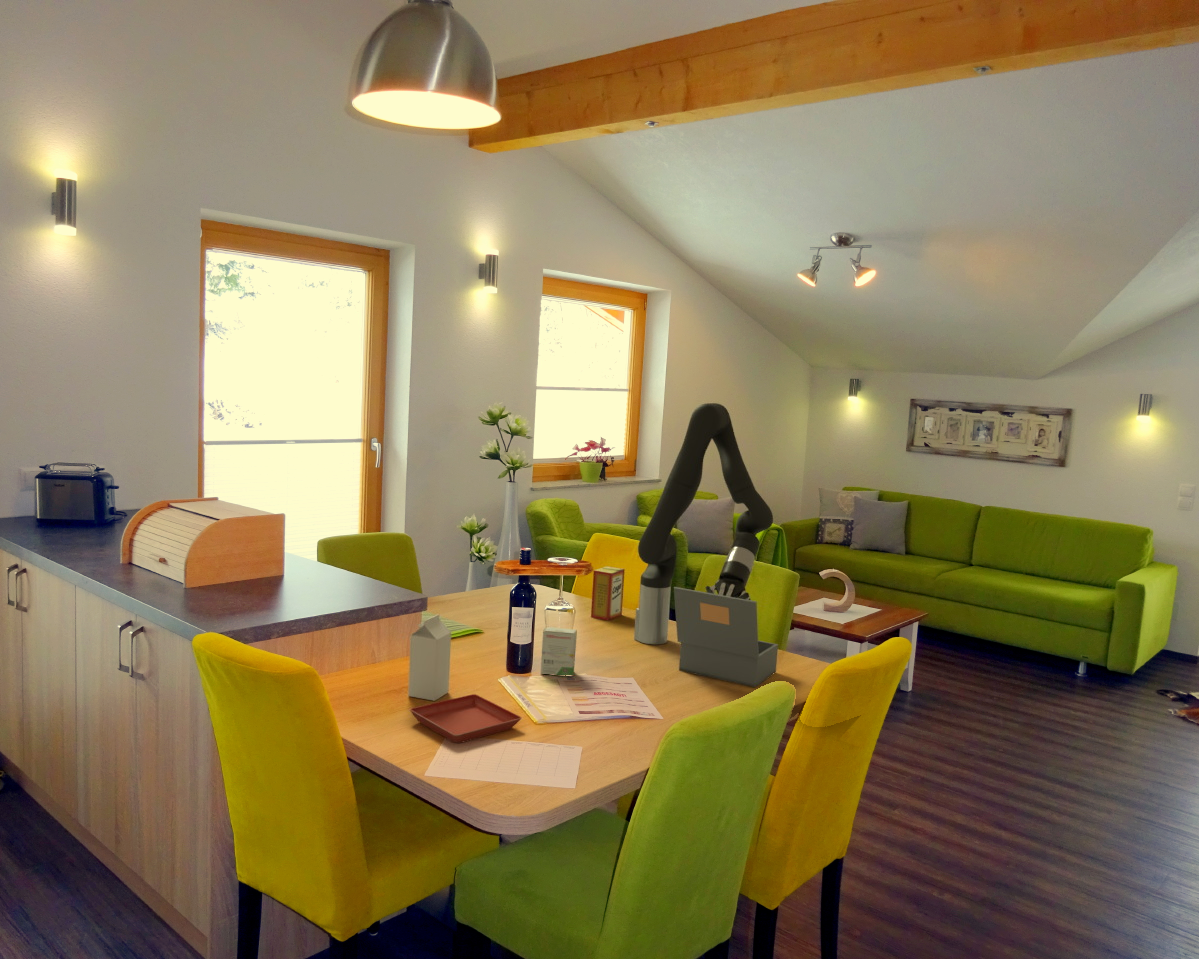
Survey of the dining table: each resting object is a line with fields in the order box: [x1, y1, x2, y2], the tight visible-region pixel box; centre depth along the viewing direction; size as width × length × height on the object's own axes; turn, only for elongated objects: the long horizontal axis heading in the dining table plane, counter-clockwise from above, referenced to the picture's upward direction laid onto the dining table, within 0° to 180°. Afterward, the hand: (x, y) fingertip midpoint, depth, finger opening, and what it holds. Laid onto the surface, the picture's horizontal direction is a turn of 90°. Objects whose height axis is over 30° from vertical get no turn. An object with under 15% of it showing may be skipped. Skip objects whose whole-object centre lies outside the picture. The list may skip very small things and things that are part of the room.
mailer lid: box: [673, 586, 759, 658], centre depth 244 cm, size 23×16×1 cm
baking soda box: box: [590, 565, 625, 621], centre depth 307 cm, size 10×6×16 cm
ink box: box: [540, 626, 578, 676], centre depth 244 cm, size 9×5×12 cm, turn 84°
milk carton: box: [407, 613, 452, 702], centre depth 222 cm, size 7×7×19 cm
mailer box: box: [678, 640, 779, 688], centre depth 255 cm, size 22×16×8 cm
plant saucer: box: [409, 693, 522, 744], centre depth 205 cm, size 18×18×3 cm
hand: (717, 620), depth 244 cm, fingers closed
